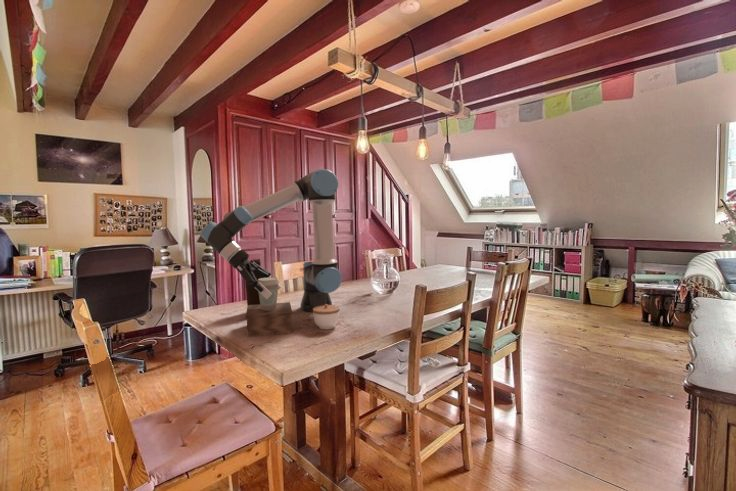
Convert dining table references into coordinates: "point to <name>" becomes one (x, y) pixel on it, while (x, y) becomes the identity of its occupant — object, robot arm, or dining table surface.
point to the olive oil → (253, 290)
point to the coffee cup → (272, 286)
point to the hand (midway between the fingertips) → (274, 292)
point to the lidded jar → (326, 316)
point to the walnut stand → (268, 320)
